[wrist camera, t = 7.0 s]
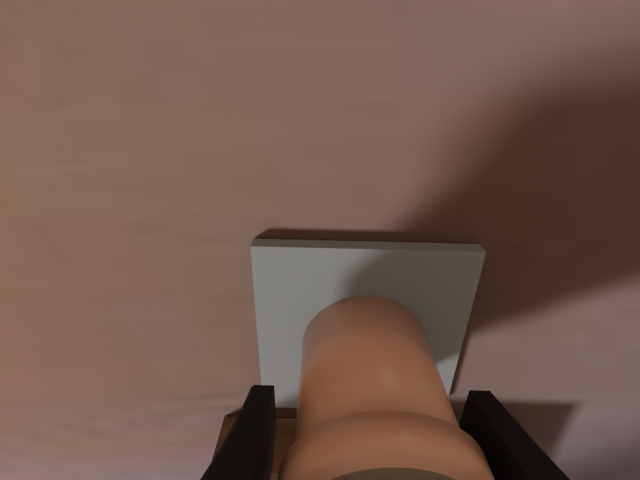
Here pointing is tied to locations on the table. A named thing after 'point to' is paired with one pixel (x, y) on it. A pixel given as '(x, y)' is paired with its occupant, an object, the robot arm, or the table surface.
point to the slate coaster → (353, 281)
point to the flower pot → (375, 402)
